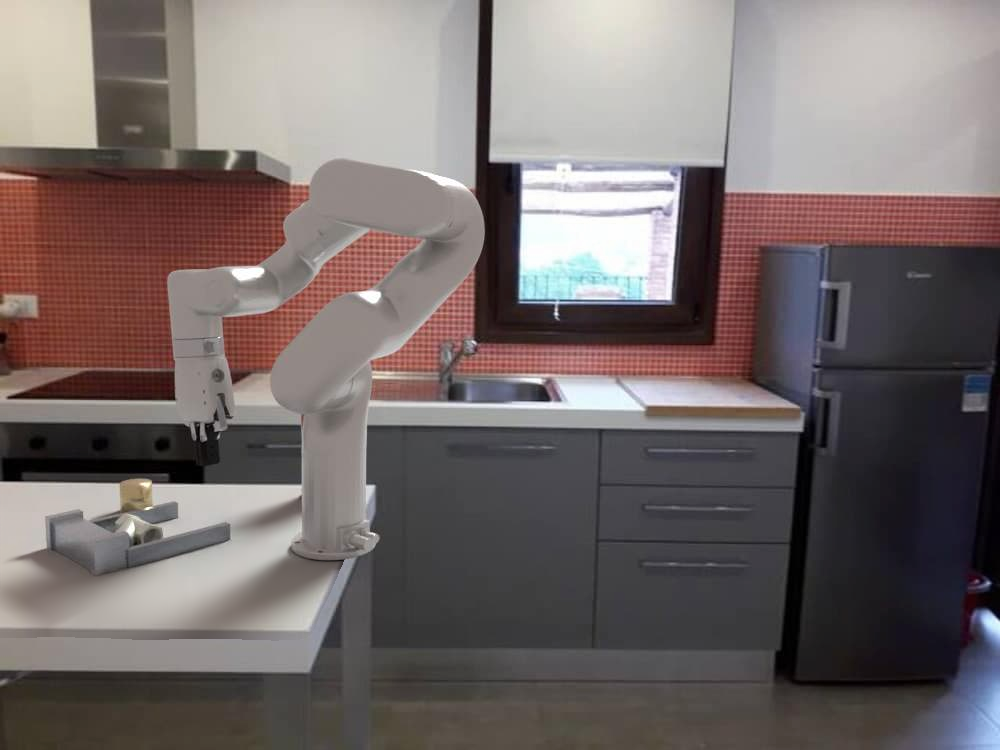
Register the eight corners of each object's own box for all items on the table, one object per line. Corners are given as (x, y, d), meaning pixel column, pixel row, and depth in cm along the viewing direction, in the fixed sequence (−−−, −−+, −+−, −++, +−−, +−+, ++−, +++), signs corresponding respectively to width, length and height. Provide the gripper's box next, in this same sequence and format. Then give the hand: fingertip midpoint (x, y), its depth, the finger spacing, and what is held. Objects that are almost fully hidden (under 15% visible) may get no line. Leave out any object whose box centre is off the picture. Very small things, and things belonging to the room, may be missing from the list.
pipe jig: (230, 539, 126) (229, 509, 125) (97, 576, 110) (95, 542, 110) (174, 515, 136) (173, 488, 136) (45, 546, 121) (43, 515, 120)
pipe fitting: (120, 561, 118) (164, 546, 123) (117, 536, 117) (161, 521, 122) (94, 547, 123) (137, 533, 128) (91, 523, 122) (134, 509, 127)
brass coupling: (158, 511, 139) (157, 482, 138) (129, 517, 135) (128, 488, 134) (143, 504, 142) (142, 477, 141) (115, 511, 138) (113, 482, 137)
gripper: (247, 348, 125) (256, 465, 127) (195, 345, 135) (204, 454, 137) (203, 353, 119) (213, 475, 122) (151, 350, 129) (161, 463, 131)
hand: (208, 464), depth 129 cm, fingers closed
